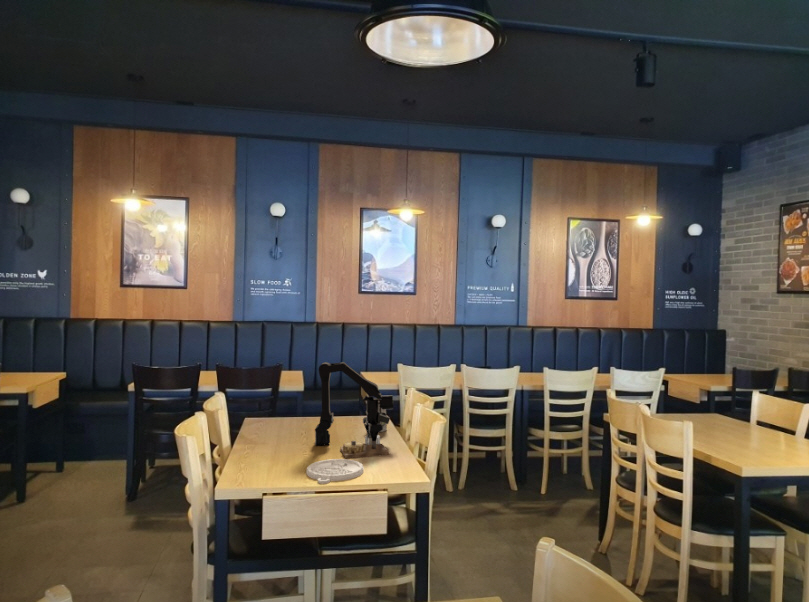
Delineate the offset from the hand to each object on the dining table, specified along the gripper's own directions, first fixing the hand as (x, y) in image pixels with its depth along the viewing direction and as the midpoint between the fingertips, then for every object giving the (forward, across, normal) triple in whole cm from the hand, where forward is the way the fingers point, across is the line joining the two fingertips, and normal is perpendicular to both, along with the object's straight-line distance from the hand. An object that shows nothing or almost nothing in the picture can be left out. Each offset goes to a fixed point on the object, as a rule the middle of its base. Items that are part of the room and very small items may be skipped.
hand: (372, 441), depth 279 cm
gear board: (+1, -14, +7) cm, 16 cm away
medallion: (+2, -40, +25) cm, 47 cm away
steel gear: (+1, 0, 0) cm, 1 cm away
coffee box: (+1, +26, -8) cm, 27 cm away
